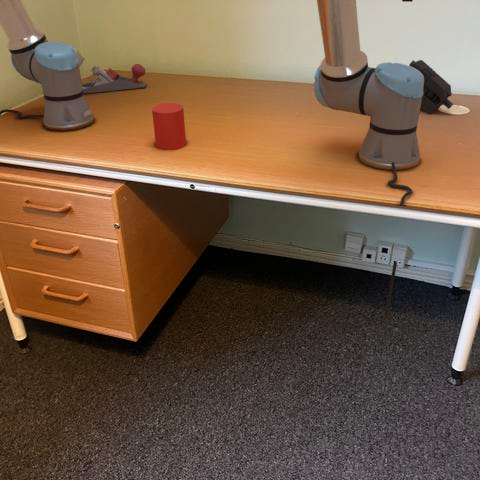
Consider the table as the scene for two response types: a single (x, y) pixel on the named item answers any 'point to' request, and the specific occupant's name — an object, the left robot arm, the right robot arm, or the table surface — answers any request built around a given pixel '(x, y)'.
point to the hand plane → (112, 79)
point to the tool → (433, 88)
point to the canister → (169, 126)
